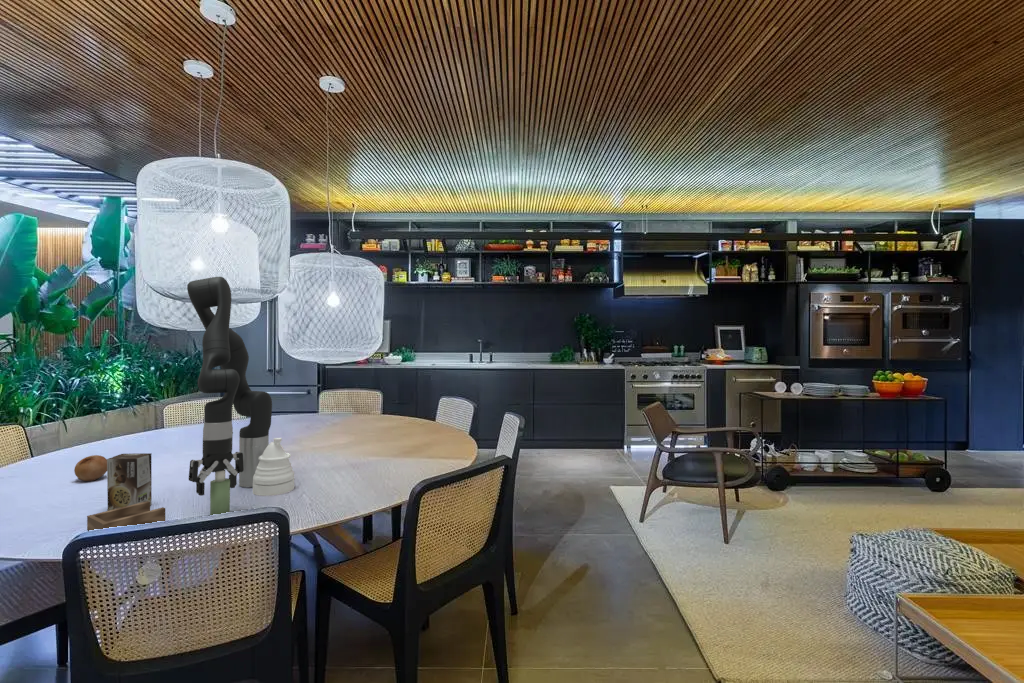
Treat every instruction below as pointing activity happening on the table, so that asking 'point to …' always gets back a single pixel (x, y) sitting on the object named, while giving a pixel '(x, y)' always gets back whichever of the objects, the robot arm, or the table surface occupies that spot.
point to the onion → (91, 468)
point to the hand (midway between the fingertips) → (216, 491)
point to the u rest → (126, 516)
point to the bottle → (219, 494)
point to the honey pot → (273, 471)
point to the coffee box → (129, 480)
